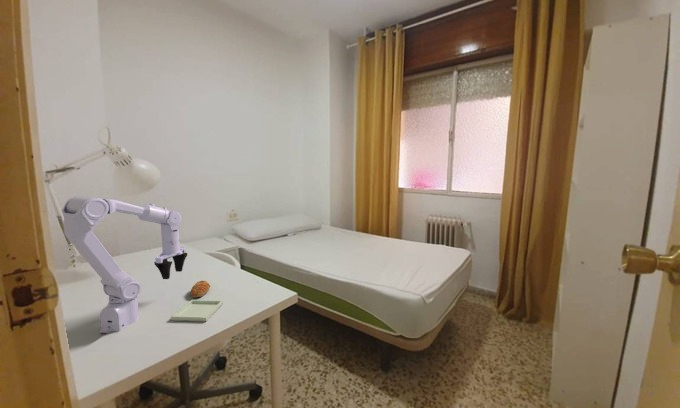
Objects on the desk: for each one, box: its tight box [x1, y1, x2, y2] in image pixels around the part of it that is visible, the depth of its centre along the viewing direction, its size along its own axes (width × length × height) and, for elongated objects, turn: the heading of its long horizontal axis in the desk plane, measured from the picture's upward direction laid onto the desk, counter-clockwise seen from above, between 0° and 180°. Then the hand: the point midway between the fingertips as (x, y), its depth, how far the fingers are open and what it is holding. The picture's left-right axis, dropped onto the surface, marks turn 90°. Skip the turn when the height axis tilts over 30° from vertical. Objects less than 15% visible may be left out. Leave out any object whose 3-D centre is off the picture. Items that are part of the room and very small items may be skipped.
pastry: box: [190, 280, 211, 298], centre depth 108 cm, size 9×7×4 cm
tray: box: [170, 299, 224, 323], centre depth 94 cm, size 12×12×2 cm
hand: (172, 274), depth 102 cm, fingers open, 7 cm apart
